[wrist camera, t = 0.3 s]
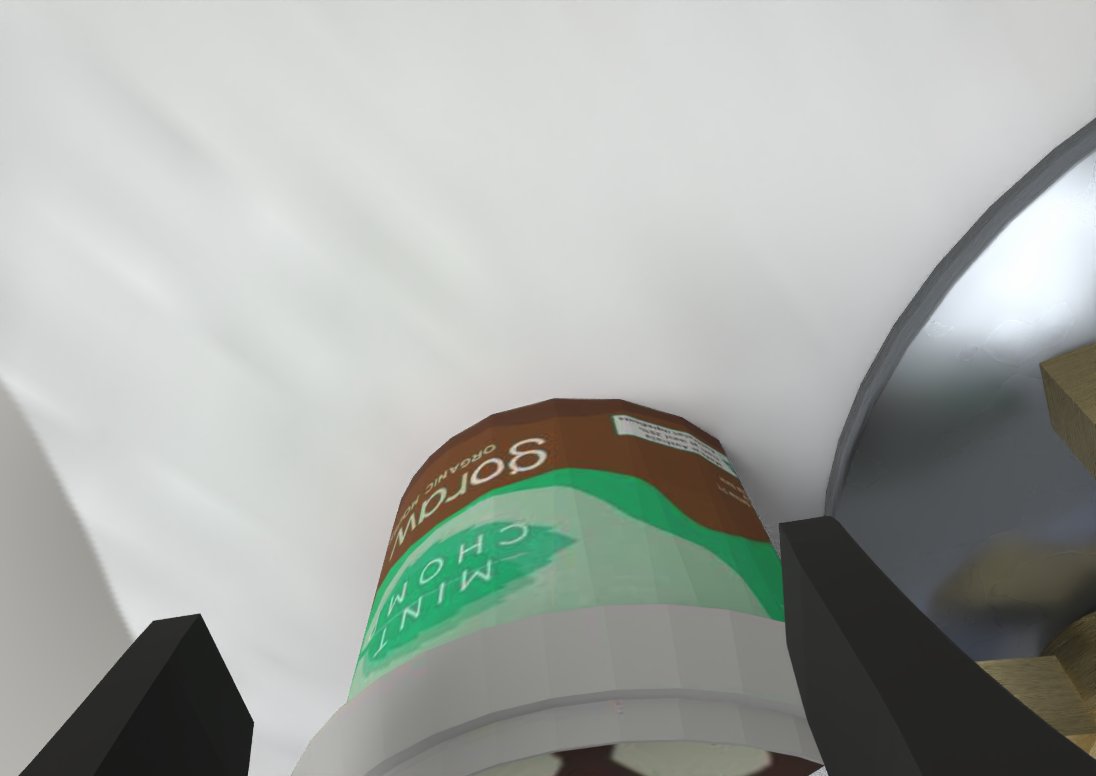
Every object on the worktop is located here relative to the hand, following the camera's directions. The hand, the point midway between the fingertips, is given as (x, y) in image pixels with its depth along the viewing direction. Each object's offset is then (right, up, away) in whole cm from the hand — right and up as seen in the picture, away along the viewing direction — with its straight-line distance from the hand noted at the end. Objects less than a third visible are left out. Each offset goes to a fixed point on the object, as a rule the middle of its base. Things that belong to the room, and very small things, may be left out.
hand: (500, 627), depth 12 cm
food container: (-1, 0, +12) cm, 12 cm away
